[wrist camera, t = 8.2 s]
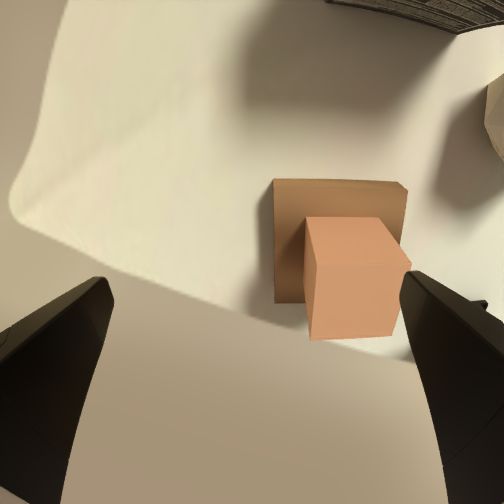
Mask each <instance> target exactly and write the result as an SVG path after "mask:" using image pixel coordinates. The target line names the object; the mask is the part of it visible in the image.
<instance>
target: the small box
mask: <svg viewBox="0 0 504 504" xmlns="http://www.w3.org/2000/svg"><path fill="white" fill-rule="evenodd" d="M324 1H325V2H326V3H334V4H340V5H347V6H353V7H359V8H364V9H369V10H373V11H379V12H383V13H387V14H392V15H396V16H400V17H403V18H407V19H410V20H414V21H418V22H421V23H424V24H427V25H430V26H433V27H436V28H439V29H442V30H446V31H448V32H451V33H454V34H456V35H459V34H462V33H466V32H469V31H473V30H477V29H482V28H486V27H491V26H496V25H504V0H324Z"/></svg>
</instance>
